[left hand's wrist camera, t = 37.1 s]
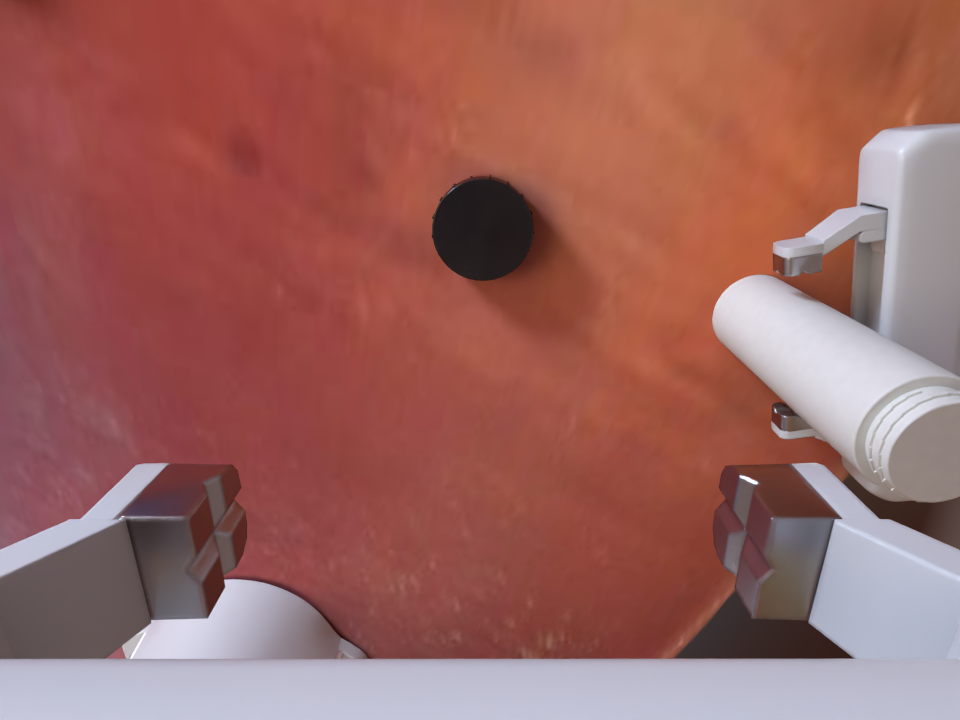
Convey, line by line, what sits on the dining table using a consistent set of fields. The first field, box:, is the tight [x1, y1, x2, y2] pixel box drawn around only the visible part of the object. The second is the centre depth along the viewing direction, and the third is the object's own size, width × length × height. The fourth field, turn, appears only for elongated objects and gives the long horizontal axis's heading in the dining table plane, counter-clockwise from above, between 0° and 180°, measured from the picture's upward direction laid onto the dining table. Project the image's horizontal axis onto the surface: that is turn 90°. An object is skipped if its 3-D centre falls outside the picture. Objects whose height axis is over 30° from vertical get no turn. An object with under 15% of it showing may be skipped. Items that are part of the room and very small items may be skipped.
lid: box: [432, 175, 534, 281], centre depth 35 cm, size 6×6×2 cm
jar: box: [713, 275, 960, 503], centre depth 29 cm, size 5×5×17 cm
